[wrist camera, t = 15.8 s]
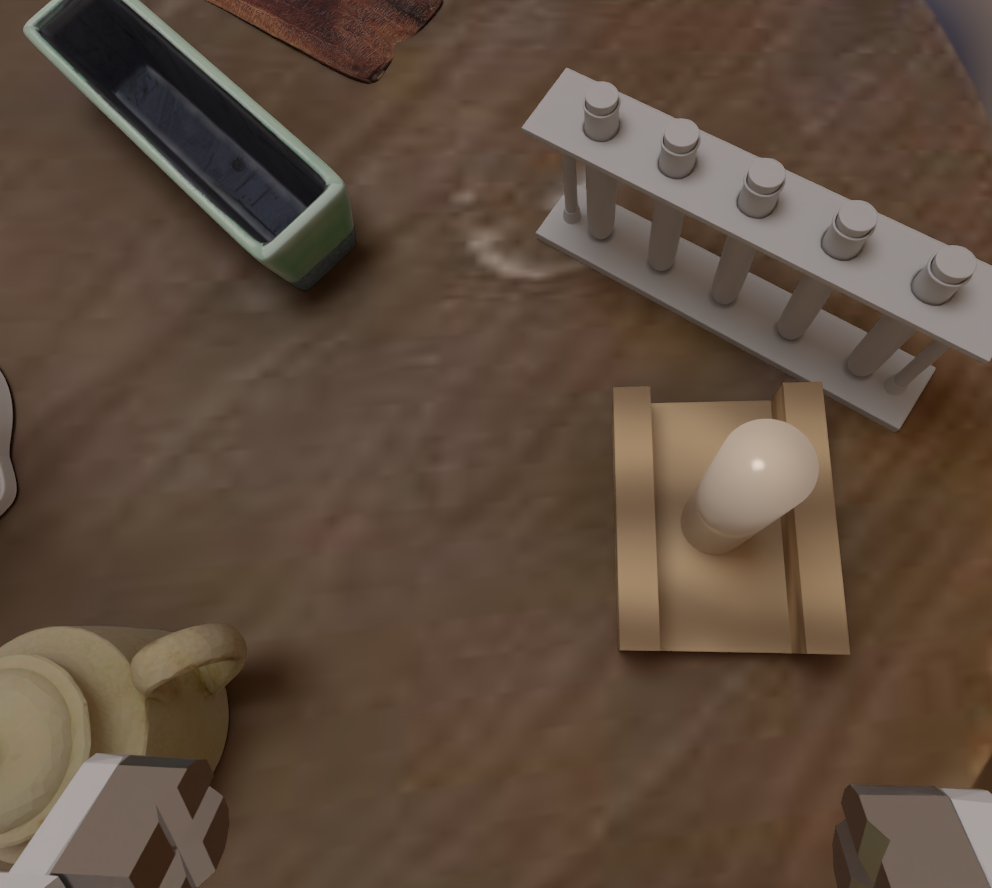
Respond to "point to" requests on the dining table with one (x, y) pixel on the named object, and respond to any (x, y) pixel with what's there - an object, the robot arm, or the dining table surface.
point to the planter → (202, 133)
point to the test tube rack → (754, 227)
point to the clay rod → (749, 485)
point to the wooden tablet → (339, 28)
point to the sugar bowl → (105, 707)
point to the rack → (734, 575)
